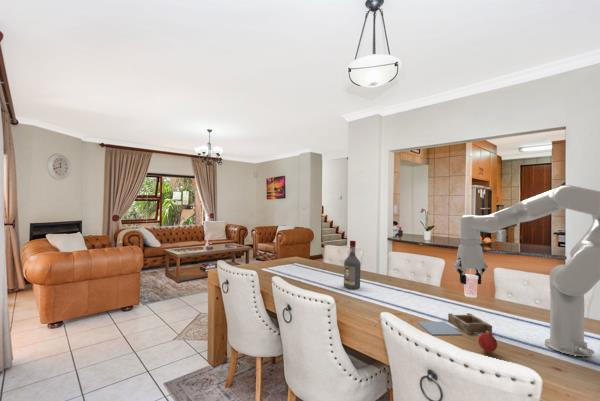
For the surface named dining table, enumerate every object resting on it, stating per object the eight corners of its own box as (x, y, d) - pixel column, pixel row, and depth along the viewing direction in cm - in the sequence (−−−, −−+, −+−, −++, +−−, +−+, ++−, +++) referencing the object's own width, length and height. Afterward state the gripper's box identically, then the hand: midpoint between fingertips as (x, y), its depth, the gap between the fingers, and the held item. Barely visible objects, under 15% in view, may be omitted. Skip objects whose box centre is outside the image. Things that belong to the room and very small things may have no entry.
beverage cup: (459, 294, 130) (459, 263, 130) (469, 293, 132) (469, 262, 132) (471, 298, 124) (471, 265, 124) (482, 297, 126) (481, 265, 127)
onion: (479, 347, 110) (479, 326, 110) (497, 352, 106) (498, 330, 106) (476, 353, 105) (477, 330, 105) (496, 358, 101) (496, 335, 102)
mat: (462, 335, 120) (462, 334, 120) (432, 335, 119) (432, 334, 119) (444, 322, 133) (444, 321, 133) (417, 322, 132) (417, 321, 132)
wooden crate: (492, 334, 121) (492, 325, 121) (467, 334, 121) (467, 325, 121) (470, 321, 135) (470, 313, 135) (448, 321, 135) (448, 313, 135)
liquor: (350, 284, 194) (351, 239, 194) (361, 287, 187) (362, 241, 187) (341, 286, 188) (342, 240, 188) (352, 290, 181) (353, 242, 181)
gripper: (482, 241, 133) (483, 281, 133) (446, 241, 132) (446, 281, 131) (495, 243, 126) (495, 285, 125) (456, 243, 124) (456, 286, 124)
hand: (470, 283), depth 128 cm, fingers closed on beverage cup, 6 cm apart
